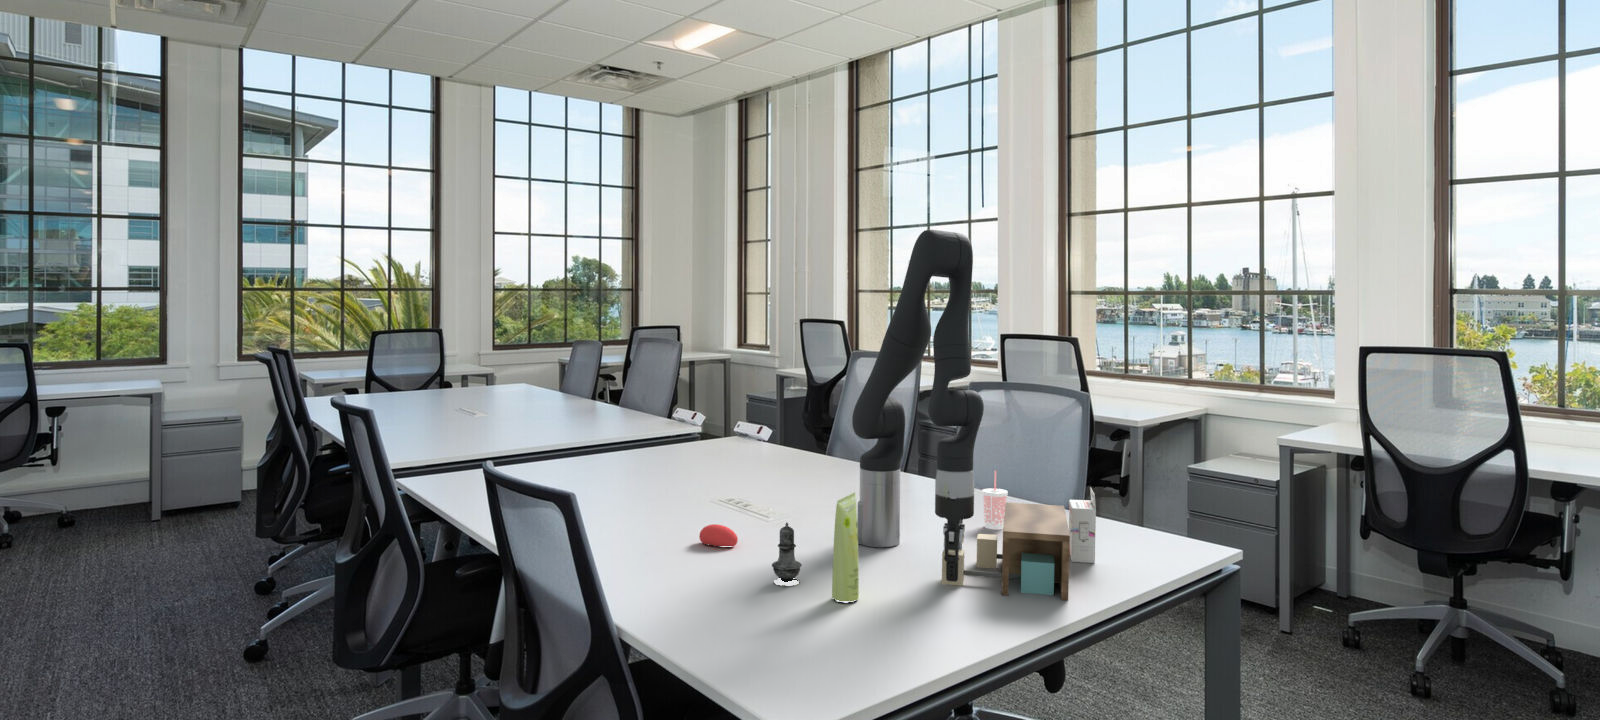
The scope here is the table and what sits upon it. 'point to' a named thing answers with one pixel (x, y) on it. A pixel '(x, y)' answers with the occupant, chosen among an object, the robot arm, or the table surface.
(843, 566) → the tube
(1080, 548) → the ink cartridge box
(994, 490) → the beverage cup
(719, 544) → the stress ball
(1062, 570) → the walnut shelf
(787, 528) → the salt shaker
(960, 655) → the table surface
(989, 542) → the beige cube-topped post
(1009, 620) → the table surface
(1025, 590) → the teal and cream dumbbell
